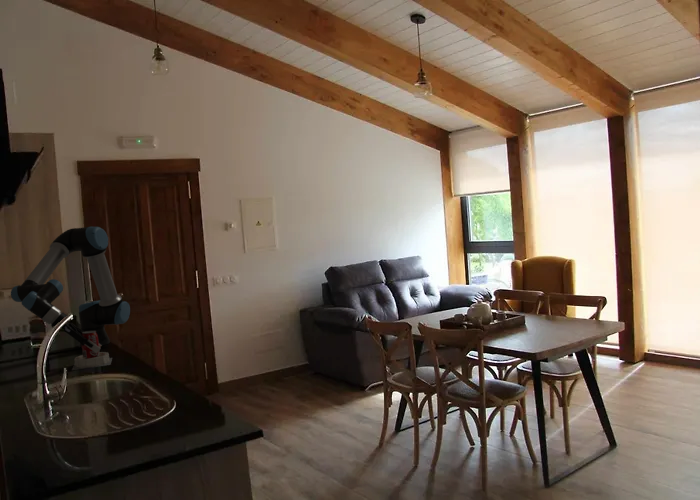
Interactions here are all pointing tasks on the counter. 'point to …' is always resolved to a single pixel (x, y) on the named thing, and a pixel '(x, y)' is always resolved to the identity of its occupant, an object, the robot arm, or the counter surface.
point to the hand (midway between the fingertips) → (99, 349)
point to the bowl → (92, 360)
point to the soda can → (93, 338)
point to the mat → (95, 366)
